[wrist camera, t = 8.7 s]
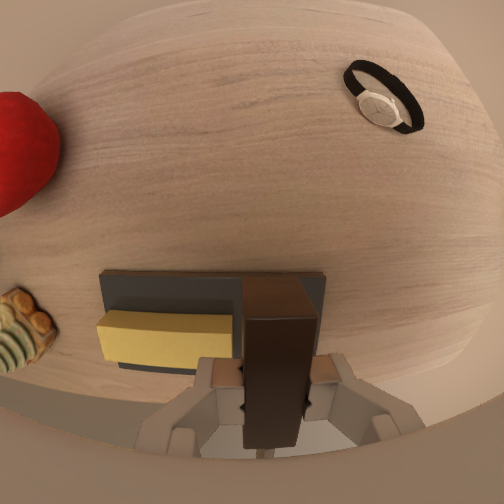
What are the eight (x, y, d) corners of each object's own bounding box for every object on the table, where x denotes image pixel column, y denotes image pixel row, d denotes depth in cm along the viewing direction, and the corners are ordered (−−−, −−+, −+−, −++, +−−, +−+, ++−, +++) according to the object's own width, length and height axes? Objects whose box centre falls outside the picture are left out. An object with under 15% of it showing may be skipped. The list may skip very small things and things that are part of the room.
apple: (68, 84, 18) (-11, 55, 8) (95, 174, 21) (6, 184, 10) (3, 139, 19) (-73, 141, 8) (25, 221, 21) (-53, 251, 11)
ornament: (5, 309, 24) (-44, 348, 14) (17, 275, 23) (-43, 314, 13) (49, 354, 25) (6, 406, 16) (64, 326, 24) (13, 381, 15)
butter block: (232, 314, 23) (231, 333, 20) (233, 349, 24) (232, 370, 21) (109, 309, 23) (95, 325, 20) (116, 342, 24) (104, 360, 21)
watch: (328, 90, 19) (343, 77, 16) (354, 54, 18) (371, 39, 15) (399, 148, 21) (422, 146, 17) (420, 111, 20) (443, 105, 16)
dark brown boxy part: (298, 276, 10) (320, 315, 7) (275, 461, 13) (281, 501, 11) (241, 276, 10) (243, 317, 7) (242, 462, 13) (243, 503, 10)
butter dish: (322, 271, 24) (326, 276, 22) (310, 366, 26) (312, 373, 25) (104, 269, 23) (98, 274, 22) (123, 361, 26) (119, 368, 24)
